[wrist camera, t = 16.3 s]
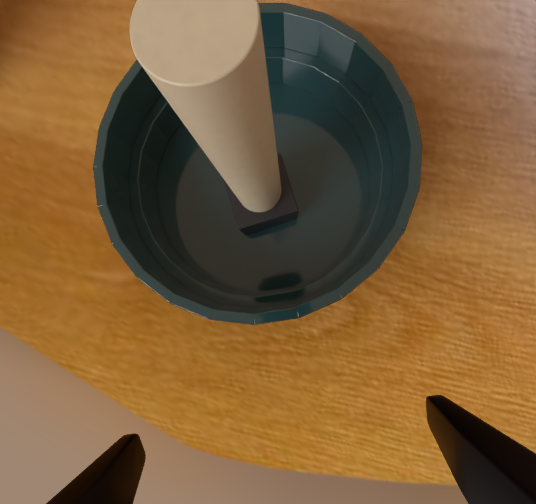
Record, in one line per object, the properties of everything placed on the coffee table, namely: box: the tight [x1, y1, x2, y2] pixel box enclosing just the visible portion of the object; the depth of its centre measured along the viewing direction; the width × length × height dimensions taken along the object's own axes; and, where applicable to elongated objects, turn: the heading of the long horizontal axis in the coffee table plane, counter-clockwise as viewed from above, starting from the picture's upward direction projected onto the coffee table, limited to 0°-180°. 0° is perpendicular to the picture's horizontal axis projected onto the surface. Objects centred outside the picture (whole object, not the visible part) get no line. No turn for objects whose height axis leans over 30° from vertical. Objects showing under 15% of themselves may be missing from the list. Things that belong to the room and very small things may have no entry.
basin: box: [93, 3, 422, 325], centre depth 17 cm, size 18×18×6 cm
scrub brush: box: [130, 0, 298, 235], centre depth 12 cm, size 4×4×14 cm
